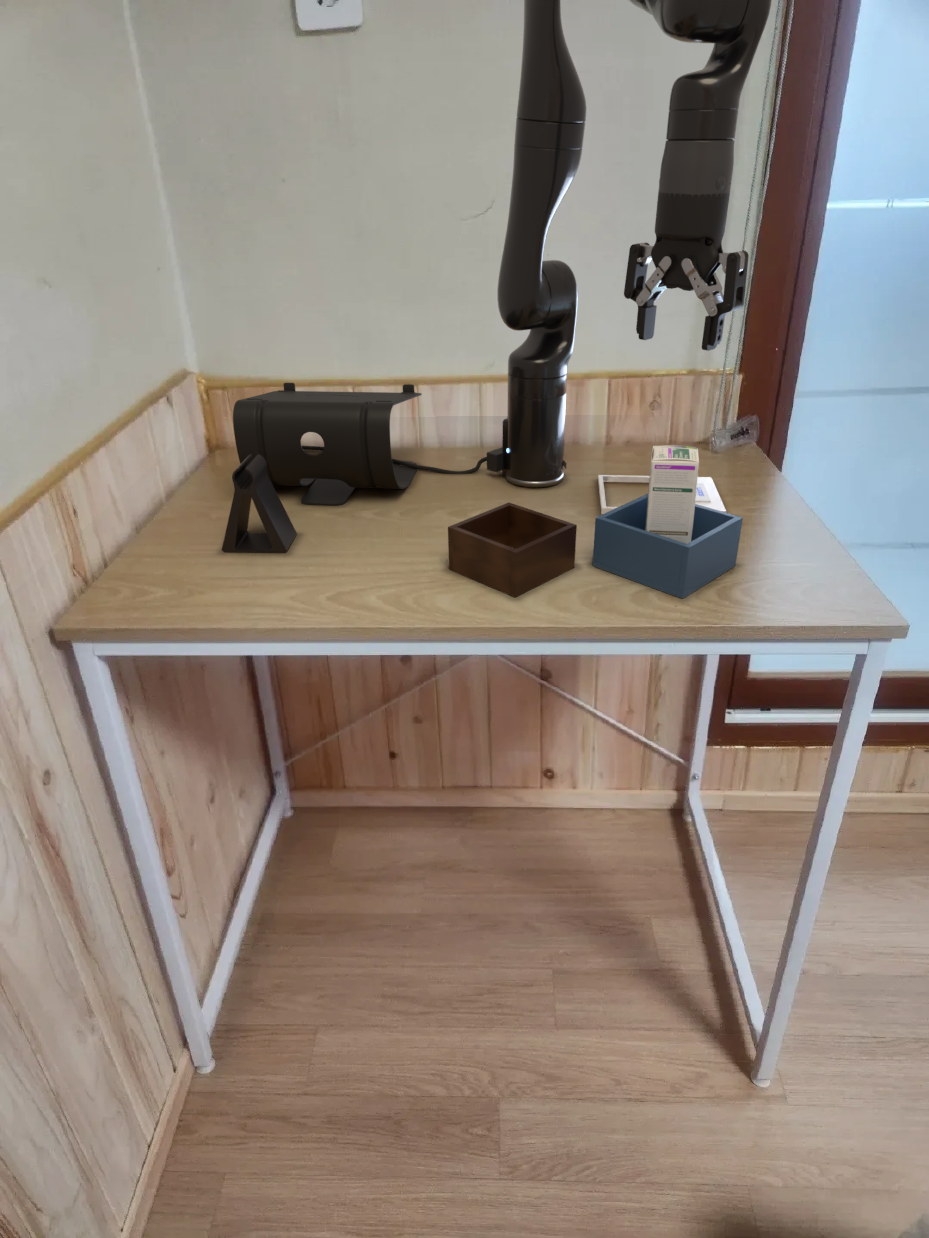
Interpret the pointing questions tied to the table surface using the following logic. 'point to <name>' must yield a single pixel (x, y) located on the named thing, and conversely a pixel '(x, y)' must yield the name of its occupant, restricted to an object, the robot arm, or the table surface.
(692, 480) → the syrup box
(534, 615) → the table surface
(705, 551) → the blue tote
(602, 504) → the photo frame
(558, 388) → the robot arm
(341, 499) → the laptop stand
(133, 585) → the table surface
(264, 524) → the phone stand
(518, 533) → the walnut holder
